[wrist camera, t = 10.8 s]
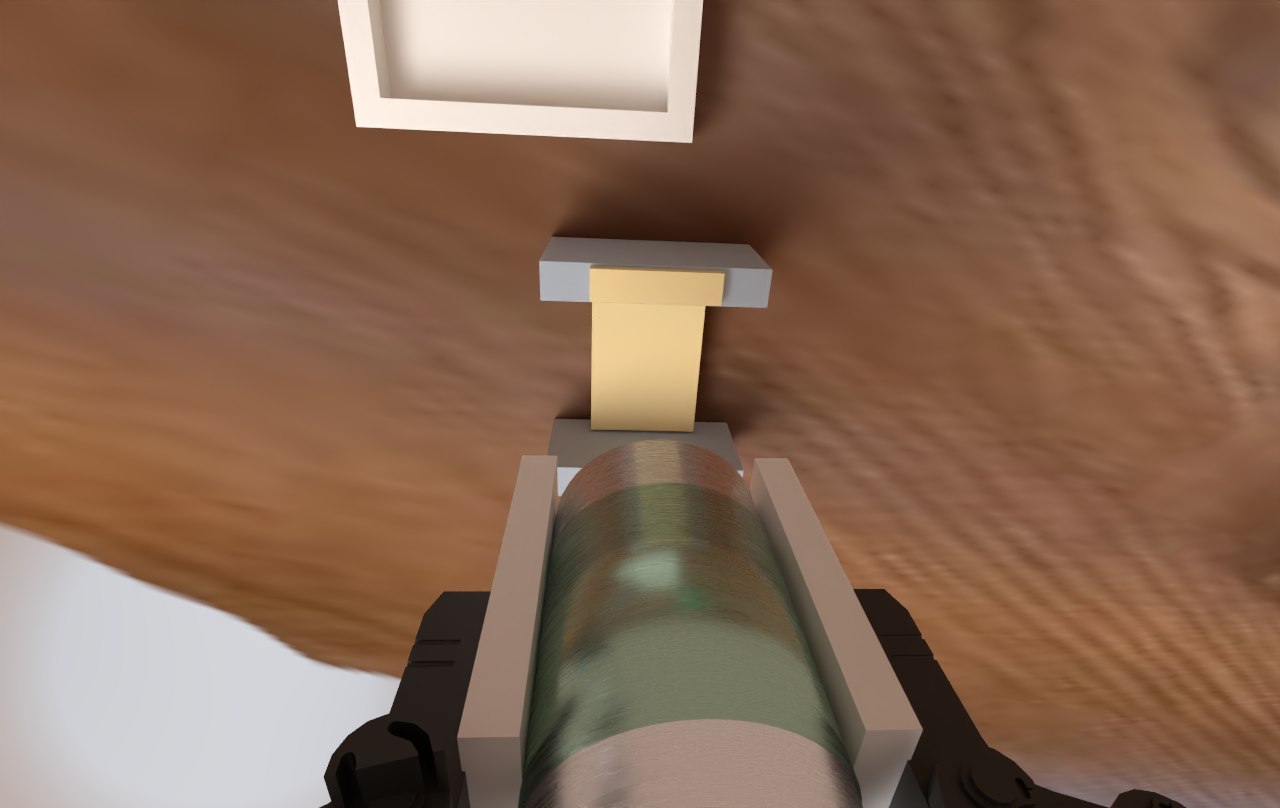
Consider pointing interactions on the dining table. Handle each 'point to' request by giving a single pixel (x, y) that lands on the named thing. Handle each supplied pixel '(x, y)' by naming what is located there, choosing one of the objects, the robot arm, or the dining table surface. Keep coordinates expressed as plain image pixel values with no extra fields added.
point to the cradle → (646, 337)
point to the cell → (674, 650)
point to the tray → (525, 66)
